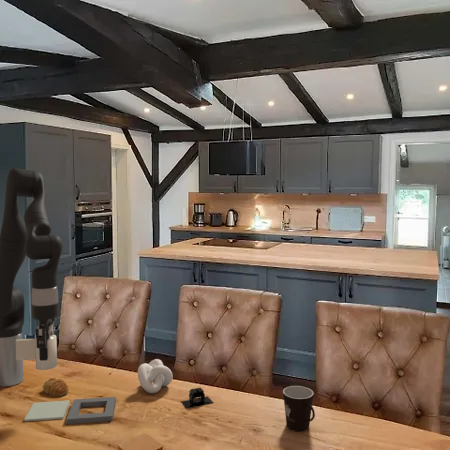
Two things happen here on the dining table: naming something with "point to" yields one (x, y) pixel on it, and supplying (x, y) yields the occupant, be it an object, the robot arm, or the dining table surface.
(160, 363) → the white knot sculpture
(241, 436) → the dining table surface
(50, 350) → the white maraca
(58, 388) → the pastry
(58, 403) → the trivet
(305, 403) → the coffee mug
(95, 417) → the socket
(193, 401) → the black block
